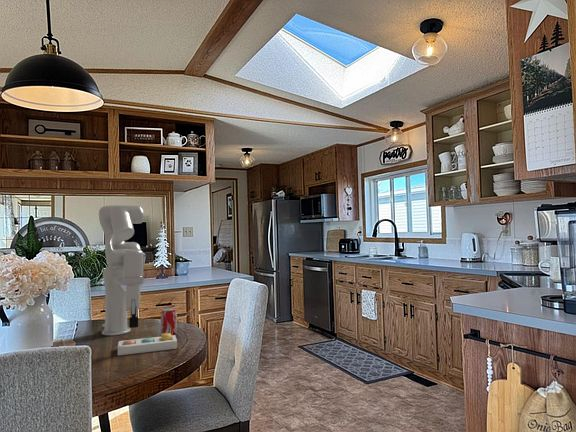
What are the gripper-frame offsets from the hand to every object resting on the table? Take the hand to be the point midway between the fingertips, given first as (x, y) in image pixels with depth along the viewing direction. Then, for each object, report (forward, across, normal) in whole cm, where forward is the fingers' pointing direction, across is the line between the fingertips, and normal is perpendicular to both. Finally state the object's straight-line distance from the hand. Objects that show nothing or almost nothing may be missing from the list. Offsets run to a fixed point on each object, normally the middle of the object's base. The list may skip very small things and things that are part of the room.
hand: (133, 327), depth 159 cm
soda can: (+9, -17, +14) cm, 24 cm away
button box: (+9, 0, +5) cm, 10 cm away
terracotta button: (+8, 0, -2) cm, 9 cm away
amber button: (+7, 0, +12) cm, 14 cm away
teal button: (+9, 0, +5) cm, 10 cm away
